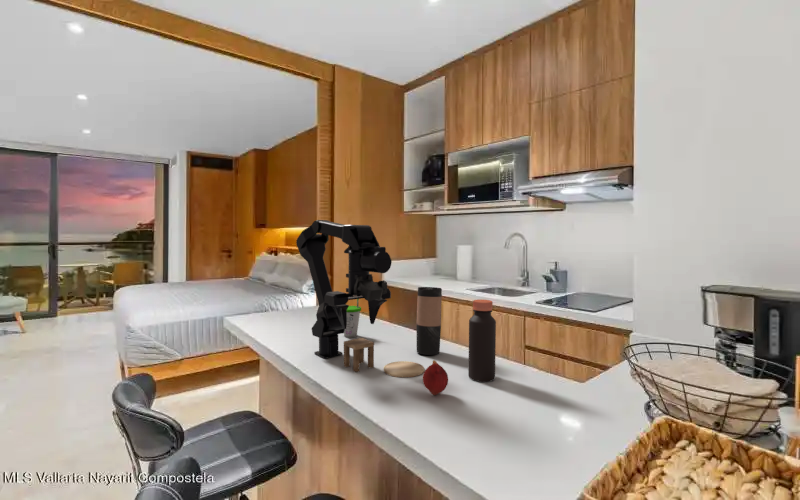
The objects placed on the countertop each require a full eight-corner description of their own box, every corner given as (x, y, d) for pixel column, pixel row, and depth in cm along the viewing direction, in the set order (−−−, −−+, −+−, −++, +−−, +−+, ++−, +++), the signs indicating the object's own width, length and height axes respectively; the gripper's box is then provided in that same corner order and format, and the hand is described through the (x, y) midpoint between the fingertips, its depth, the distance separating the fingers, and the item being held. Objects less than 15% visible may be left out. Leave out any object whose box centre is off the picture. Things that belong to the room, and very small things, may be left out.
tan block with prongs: (343, 366, 110) (343, 341, 109) (361, 361, 114) (361, 337, 113) (355, 372, 105) (355, 346, 105) (373, 367, 109) (373, 342, 109)
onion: (450, 391, 92) (450, 358, 92) (444, 401, 87) (445, 366, 87) (426, 388, 94) (426, 355, 94) (419, 397, 89) (419, 363, 88)
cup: (336, 338, 139) (336, 296, 138) (343, 332, 146) (343, 292, 146) (358, 339, 137) (358, 296, 137) (363, 333, 145) (363, 293, 144)
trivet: (375, 369, 108) (375, 366, 107) (405, 360, 115) (405, 358, 115) (401, 380, 99) (401, 378, 99) (432, 371, 106) (432, 368, 106)
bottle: (497, 375, 103) (498, 299, 102) (492, 384, 97) (493, 304, 96) (472, 371, 106) (473, 298, 105) (465, 379, 100) (466, 302, 99)
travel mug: (440, 350, 125) (442, 287, 126) (440, 355, 118) (441, 289, 118) (416, 348, 126) (418, 286, 127) (414, 354, 119) (416, 288, 119)
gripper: (345, 275, 96) (345, 338, 97) (403, 270, 108) (403, 326, 109) (323, 271, 105) (323, 329, 105) (379, 267, 117) (378, 319, 117)
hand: (358, 326), depth 109 cm, fingers open, 9 cm apart
